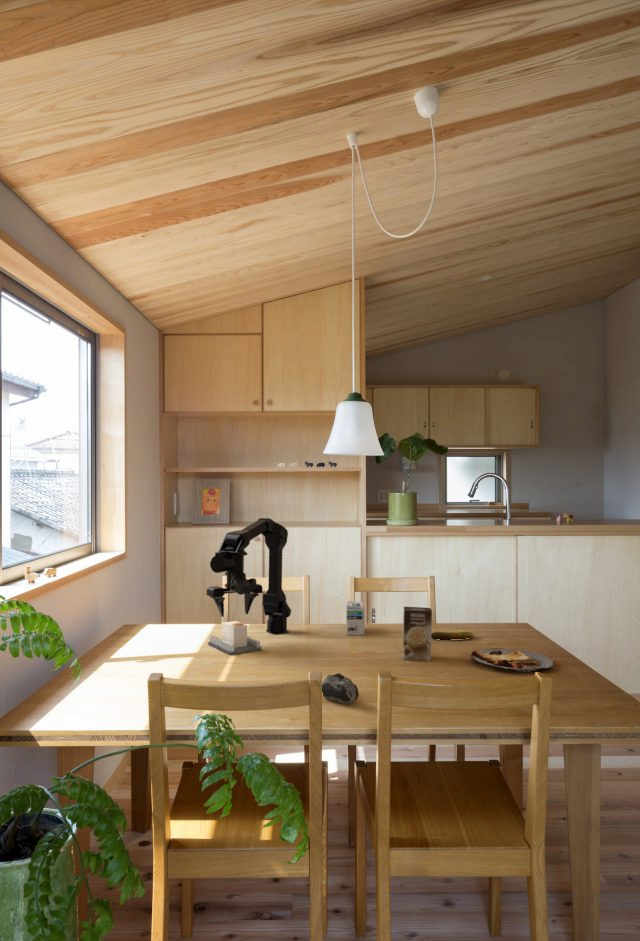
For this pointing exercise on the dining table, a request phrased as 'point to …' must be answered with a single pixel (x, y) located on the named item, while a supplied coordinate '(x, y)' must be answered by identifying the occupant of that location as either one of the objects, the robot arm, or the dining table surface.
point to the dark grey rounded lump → (339, 689)
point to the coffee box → (417, 633)
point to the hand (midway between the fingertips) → (234, 615)
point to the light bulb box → (355, 618)
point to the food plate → (511, 659)
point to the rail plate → (229, 648)
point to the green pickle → (451, 635)
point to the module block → (235, 633)
